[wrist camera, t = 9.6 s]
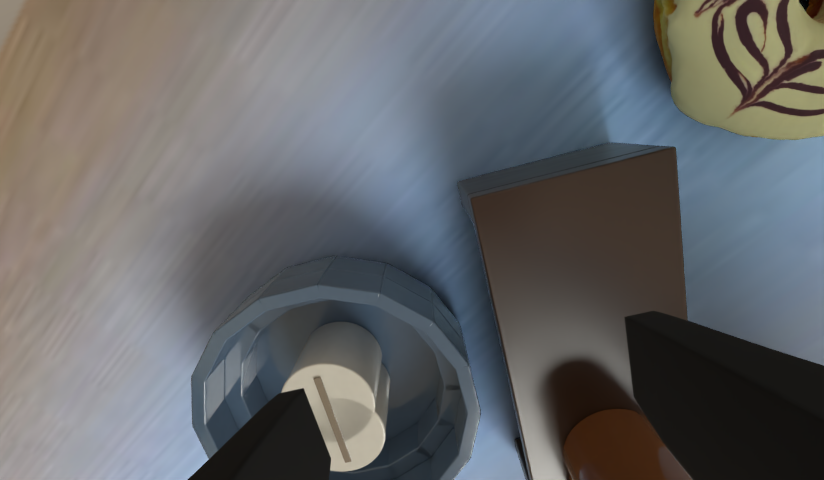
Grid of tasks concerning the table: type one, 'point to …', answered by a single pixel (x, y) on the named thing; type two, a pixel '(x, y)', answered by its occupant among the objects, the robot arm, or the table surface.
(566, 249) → the rack
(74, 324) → the table surface
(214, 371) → the bowl
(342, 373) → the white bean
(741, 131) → the decorated donut
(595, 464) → the brown rounded block
